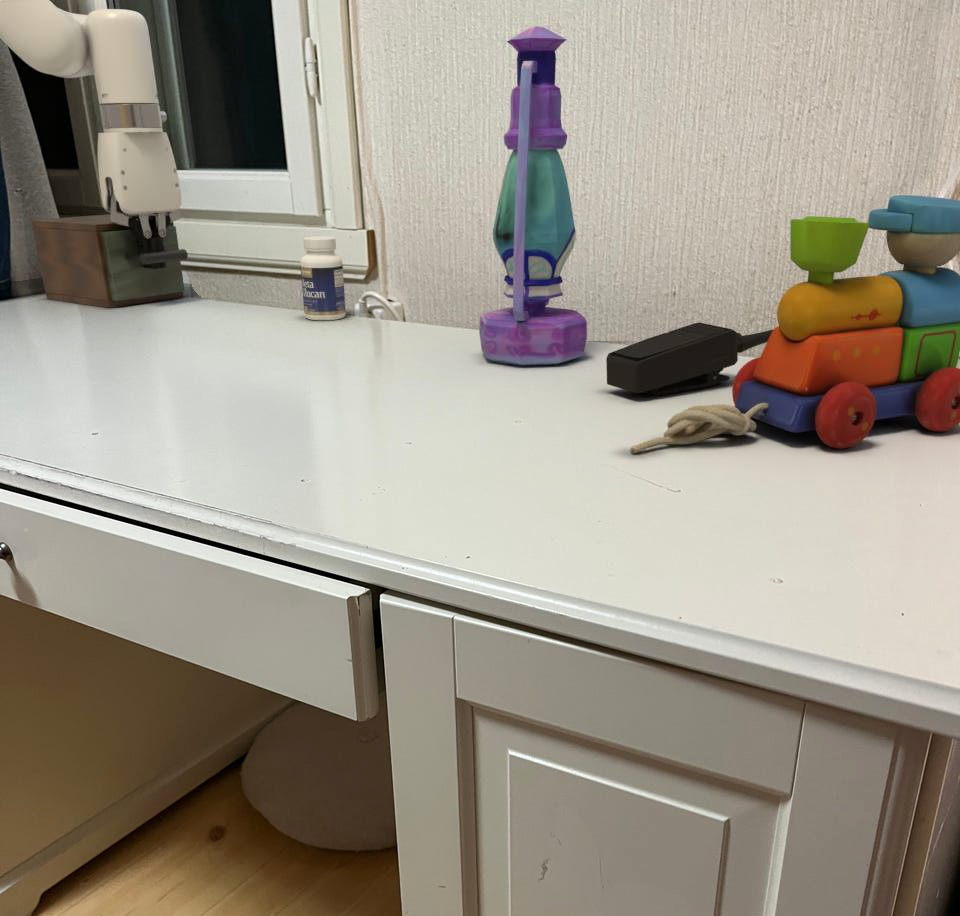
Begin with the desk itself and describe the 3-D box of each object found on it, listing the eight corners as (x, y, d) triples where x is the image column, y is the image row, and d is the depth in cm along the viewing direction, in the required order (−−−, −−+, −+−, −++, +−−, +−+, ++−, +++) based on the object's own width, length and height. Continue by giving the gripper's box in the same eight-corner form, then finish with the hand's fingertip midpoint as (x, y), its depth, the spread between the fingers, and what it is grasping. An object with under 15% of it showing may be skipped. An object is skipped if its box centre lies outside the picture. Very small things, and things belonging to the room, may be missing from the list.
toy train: (593, 436, 77) (604, 203, 69) (872, 396, 88) (907, 191, 80) (686, 480, 67) (710, 214, 60) (987, 429, 78) (1040, 198, 70)
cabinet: (184, 296, 147) (173, 218, 142) (109, 308, 138) (94, 224, 133) (120, 288, 155) (108, 214, 150) (46, 298, 146) (30, 220, 141)
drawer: (206, 293, 143) (197, 227, 139) (138, 304, 134) (126, 234, 130) (125, 284, 153) (115, 222, 149) (57, 292, 145) (45, 227, 141)
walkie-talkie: (590, 365, 91) (749, 322, 99) (621, 421, 90) (779, 374, 98) (619, 323, 85) (784, 282, 94) (653, 383, 84) (817, 336, 92)
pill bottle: (297, 320, 127) (290, 238, 123) (315, 313, 132) (309, 235, 127) (335, 321, 126) (329, 239, 121) (352, 315, 131) (347, 235, 126)
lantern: (495, 343, 112) (494, 34, 98) (596, 348, 109) (610, 30, 95) (461, 367, 100) (456, 21, 87) (574, 372, 98) (586, 16, 84)
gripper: (161, 121, 137) (181, 261, 146) (64, 121, 127) (92, 271, 135) (195, 120, 133) (214, 264, 142) (98, 120, 123) (124, 275, 131)
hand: (154, 267), depth 139 cm, fingers closed
